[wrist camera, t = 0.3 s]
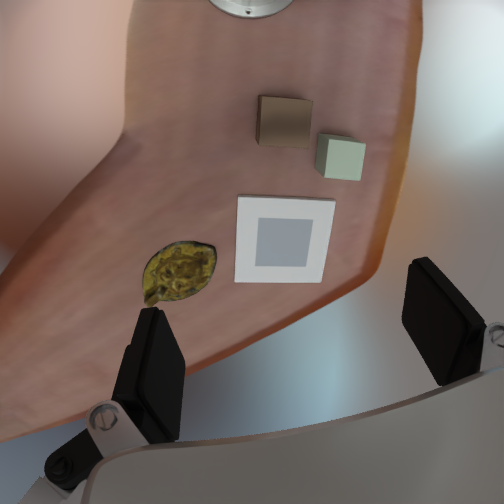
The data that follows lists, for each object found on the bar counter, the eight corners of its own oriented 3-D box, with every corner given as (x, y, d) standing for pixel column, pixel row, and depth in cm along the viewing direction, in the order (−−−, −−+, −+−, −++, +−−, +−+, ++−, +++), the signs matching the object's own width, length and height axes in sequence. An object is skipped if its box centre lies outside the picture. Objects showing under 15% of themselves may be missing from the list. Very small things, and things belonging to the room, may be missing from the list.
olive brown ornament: (192, 220, 48) (130, 275, 51) (187, 231, 43) (120, 289, 47) (233, 264, 50) (168, 312, 54) (231, 278, 46) (162, 328, 50)
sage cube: (318, 133, 41) (329, 139, 37) (352, 137, 41) (365, 143, 37) (314, 167, 43) (324, 177, 39) (347, 170, 44) (360, 180, 40)
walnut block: (258, 95, 38) (262, 96, 34) (303, 99, 39) (312, 101, 34) (255, 139, 41) (258, 145, 37) (299, 141, 42) (308, 148, 37)
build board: (237, 194, 45) (238, 197, 44) (333, 199, 46) (335, 201, 45) (234, 278, 51) (234, 282, 50) (319, 279, 53) (320, 282, 52)
